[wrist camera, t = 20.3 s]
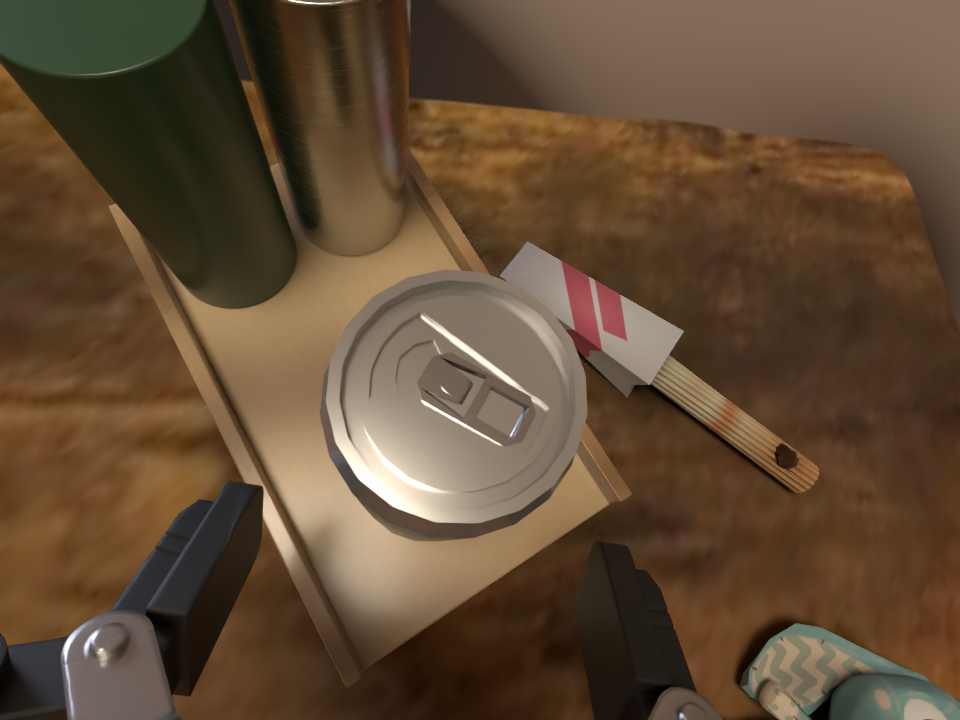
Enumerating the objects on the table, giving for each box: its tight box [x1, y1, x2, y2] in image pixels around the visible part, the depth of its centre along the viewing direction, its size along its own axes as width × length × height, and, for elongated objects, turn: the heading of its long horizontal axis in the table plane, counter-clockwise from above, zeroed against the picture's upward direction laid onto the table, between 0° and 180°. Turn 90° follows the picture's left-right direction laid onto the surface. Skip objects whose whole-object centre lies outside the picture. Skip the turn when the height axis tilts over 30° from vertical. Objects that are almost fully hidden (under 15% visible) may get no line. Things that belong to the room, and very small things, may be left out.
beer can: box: [320, 270, 587, 542], centre depth 16 cm, size 5×5×12 cm
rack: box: [0, 0, 632, 688], centre depth 21 cm, size 20×12×19 cm, turn 31°
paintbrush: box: [500, 242, 819, 493], centre depth 31 cm, size 4×3×20 cm
